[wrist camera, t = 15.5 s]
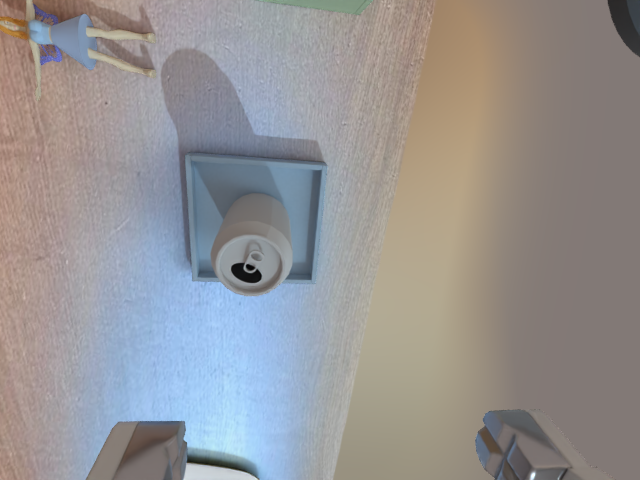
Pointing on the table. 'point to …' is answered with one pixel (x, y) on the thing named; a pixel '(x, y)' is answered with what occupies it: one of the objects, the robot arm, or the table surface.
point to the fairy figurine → (69, 40)
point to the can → (253, 246)
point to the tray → (245, 178)
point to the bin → (328, 4)
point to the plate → (215, 472)
